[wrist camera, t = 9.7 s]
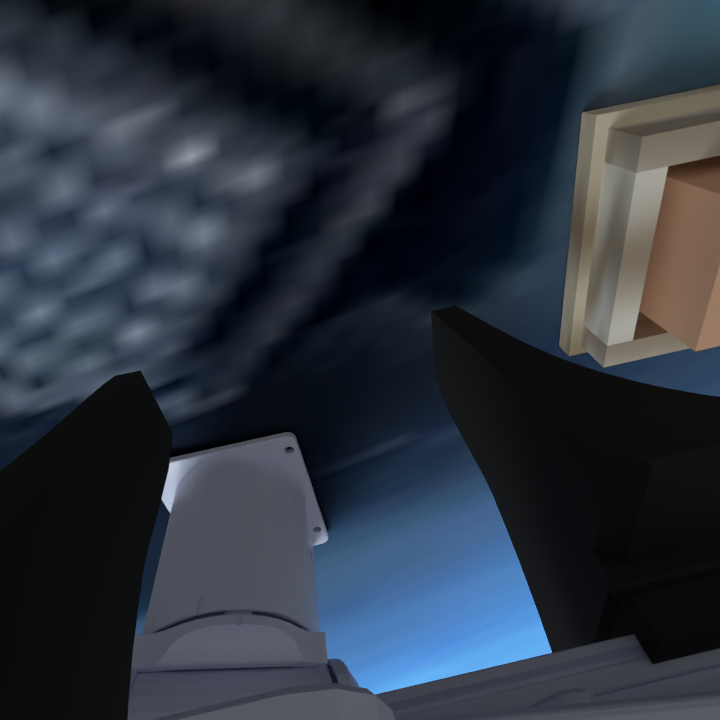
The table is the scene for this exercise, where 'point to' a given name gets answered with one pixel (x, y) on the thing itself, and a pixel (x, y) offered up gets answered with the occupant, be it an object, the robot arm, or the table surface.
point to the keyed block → (687, 256)
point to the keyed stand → (626, 218)
